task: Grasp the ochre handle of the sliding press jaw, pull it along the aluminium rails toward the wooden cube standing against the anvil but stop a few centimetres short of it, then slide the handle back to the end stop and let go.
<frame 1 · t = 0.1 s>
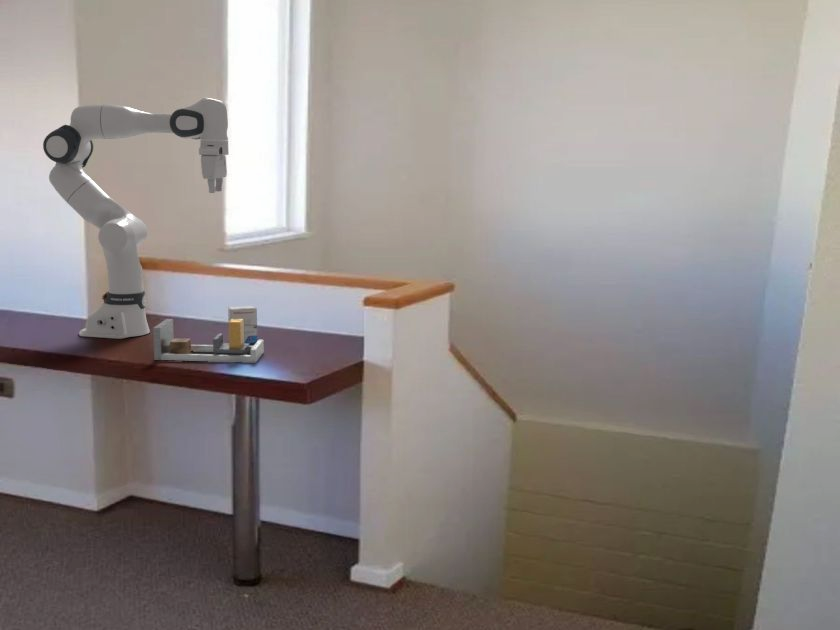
hand: (215, 192, 293), 48 cm above the table, tool pointing down, fingers open, 8 cm apart
ink box: (243, 343, 291), on the table
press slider: (231, 338, 270), point 6 cm above the table, slide at 0.0 cm
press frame: (210, 356, 271), on the table
wooden cube: (180, 356, 271), resting in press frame
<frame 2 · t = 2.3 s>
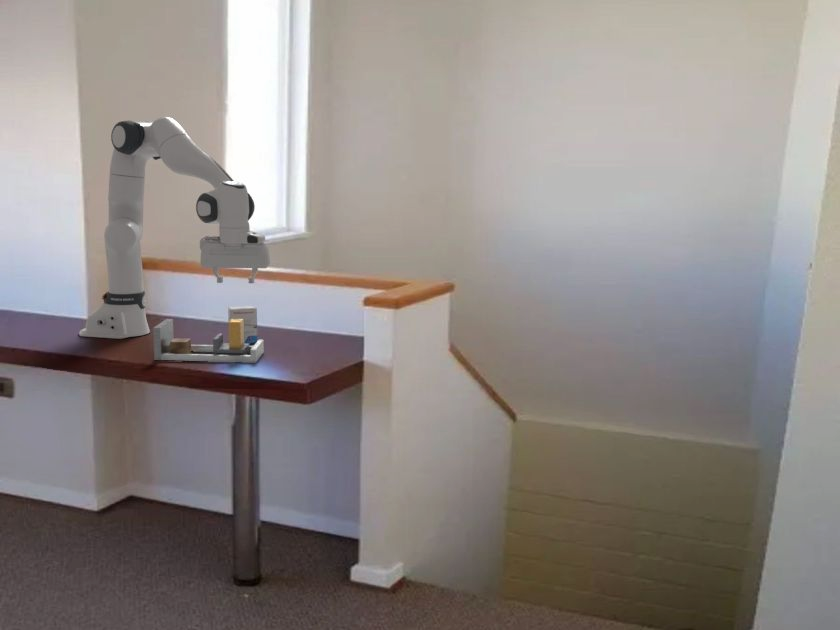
hand: (235, 282, 267), 23 cm above the table, tool pointing down, fingers open, 8 cm apart
nothing on the table moved.
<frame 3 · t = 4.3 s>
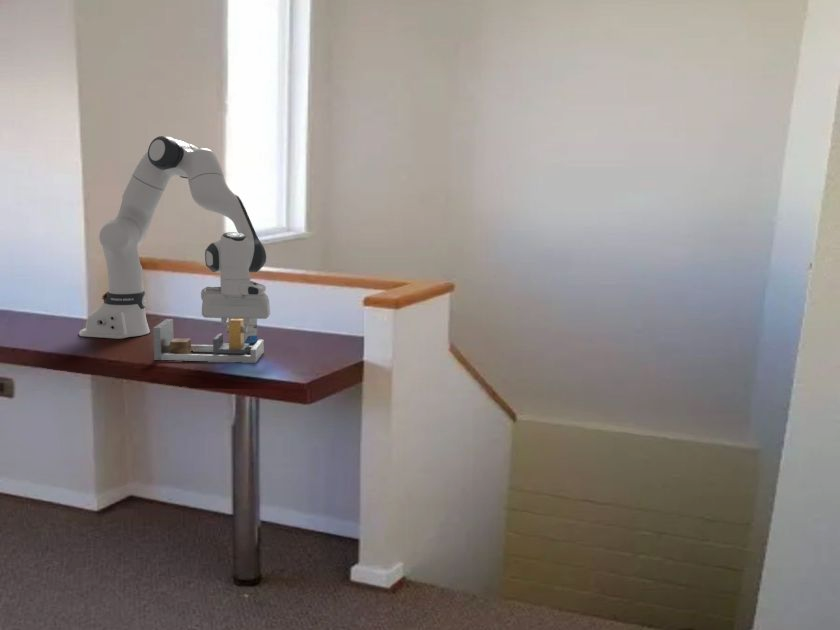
hand: (236, 332, 270), 8 cm above the table, tool pointing down, fingers closed on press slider, 3 cm apart
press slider: (231, 338, 270), point 6 cm above the table, slide at 0.0 cm, touching gripper
everything else where it was.
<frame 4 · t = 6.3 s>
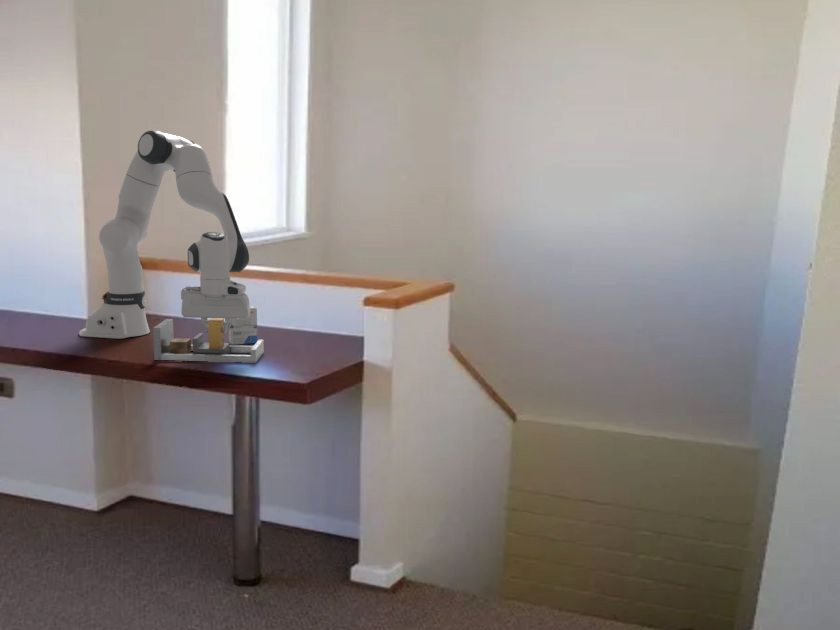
hand: (216, 332, 270), 8 cm above the table, tool pointing down, fingers closed on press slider, 3 cm apart
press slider: (211, 337, 270), point 6 cm above the table, slide at 6.0 cm, touching gripper
everything else where it was.
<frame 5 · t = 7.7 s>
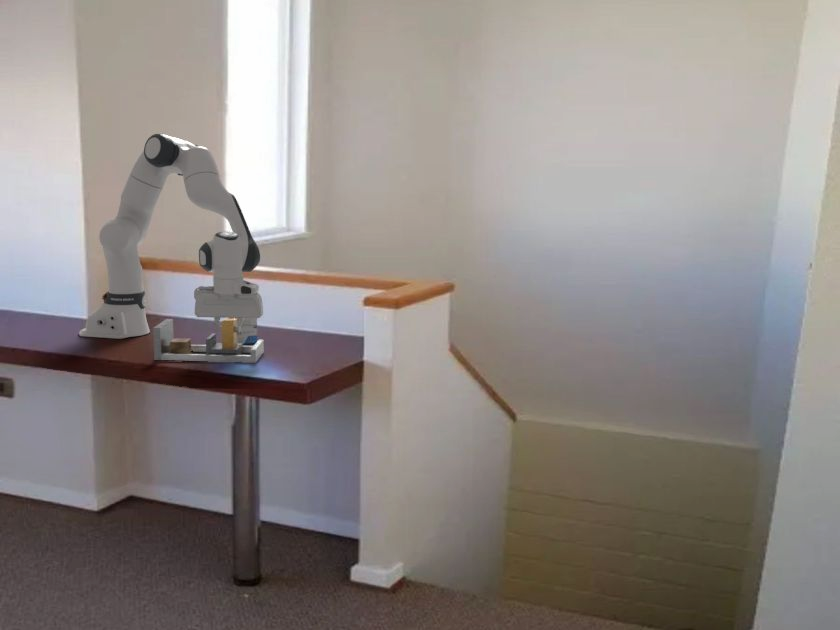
hand: (229, 331, 270), 8 cm above the table, tool pointing down, fingers closed on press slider, 3 cm apart
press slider: (224, 338, 270), point 6 cm above the table, slide at 2.1 cm, touching gripper
everything else where it was.
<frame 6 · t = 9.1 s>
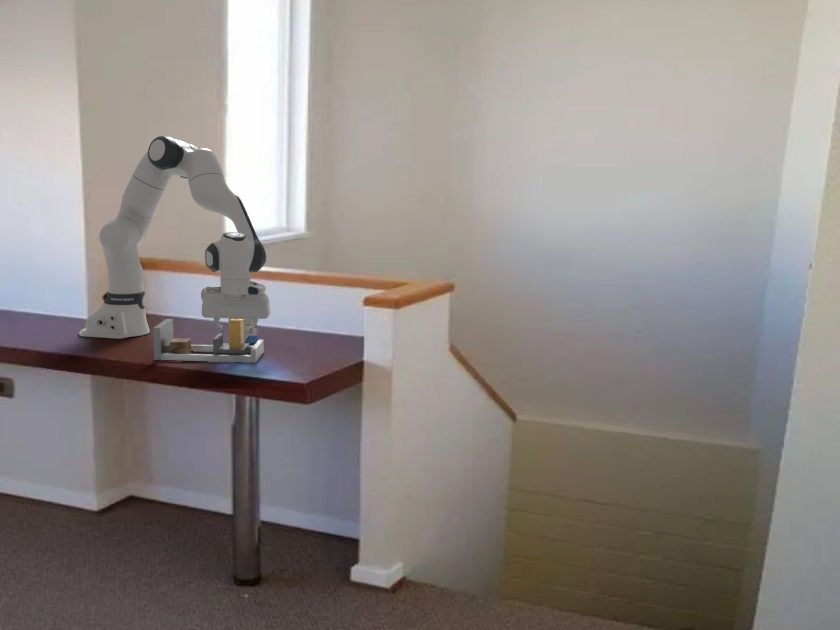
hand: (236, 332, 270), 8 cm above the table, tool pointing down, fingers open, 8 cm apart
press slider: (231, 338, 270), point 6 cm above the table, slide at 0.0 cm
everything else where it was.
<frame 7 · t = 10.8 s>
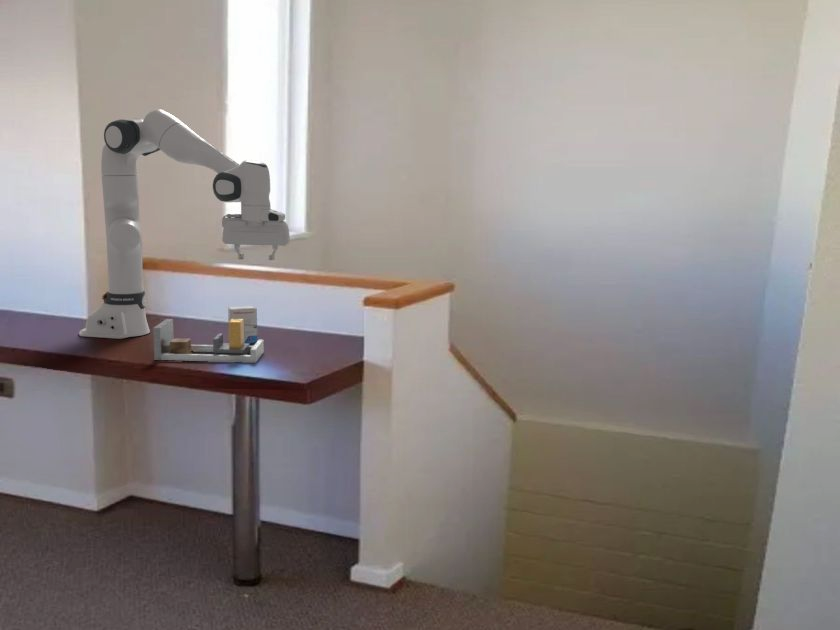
hand: (256, 259, 274), 29 cm above the table, tool pointing down, fingers open, 8 cm apart
nothing on the table moved.
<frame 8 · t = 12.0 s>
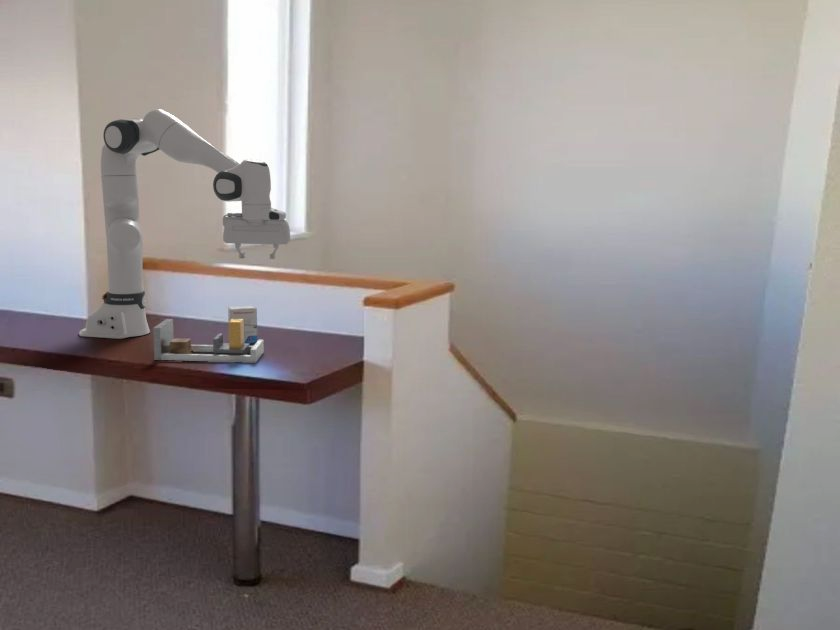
hand: (257, 258, 275), 29 cm above the table, tool pointing down, fingers open, 8 cm apart
nothing on the table moved.
at the end: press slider slide at 0.0 cm; the gripper is holding nothing; wooden cube moved 0.1 cm from its start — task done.
